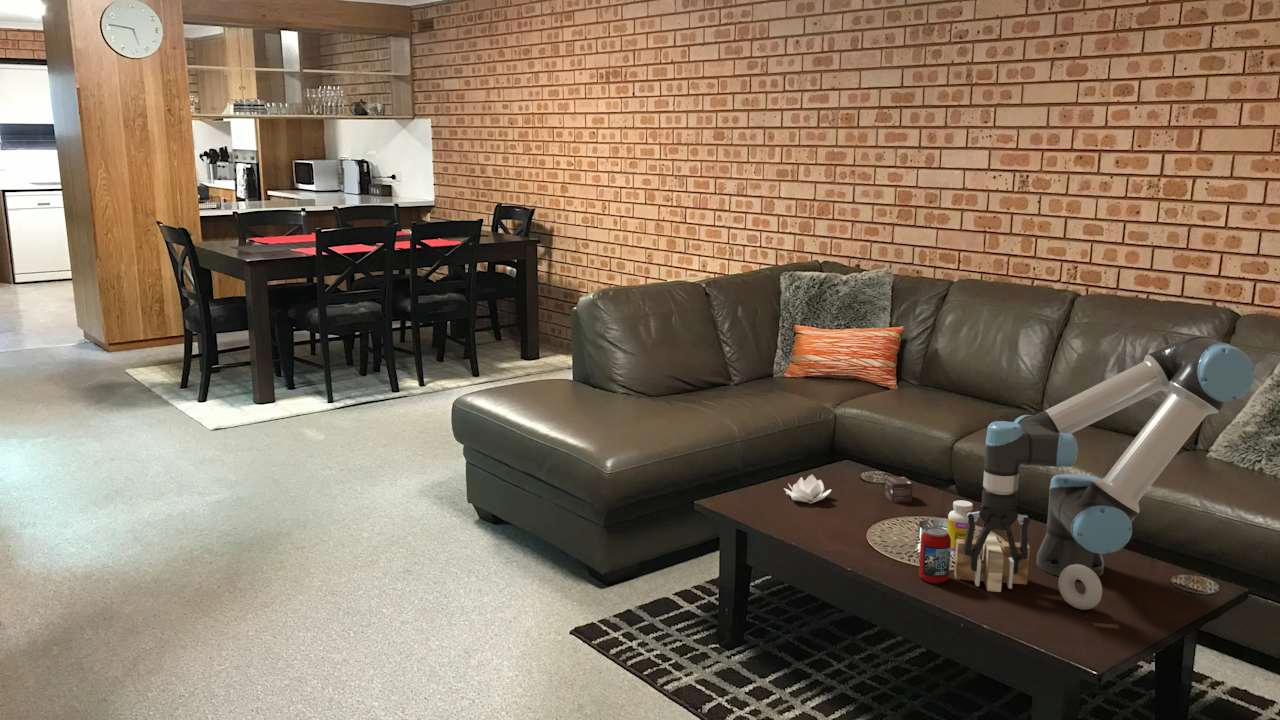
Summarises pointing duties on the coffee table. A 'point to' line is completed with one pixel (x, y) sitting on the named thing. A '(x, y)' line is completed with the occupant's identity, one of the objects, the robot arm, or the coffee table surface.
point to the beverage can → (935, 555)
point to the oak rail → (964, 564)
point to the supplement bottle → (958, 522)
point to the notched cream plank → (993, 563)
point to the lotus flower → (808, 490)
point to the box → (898, 489)
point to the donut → (1090, 582)
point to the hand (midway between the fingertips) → (993, 584)
